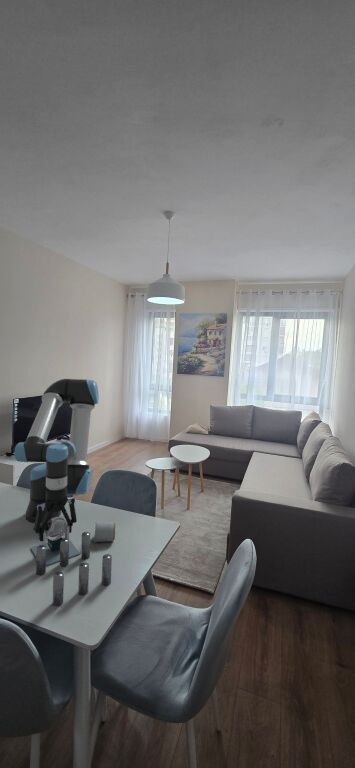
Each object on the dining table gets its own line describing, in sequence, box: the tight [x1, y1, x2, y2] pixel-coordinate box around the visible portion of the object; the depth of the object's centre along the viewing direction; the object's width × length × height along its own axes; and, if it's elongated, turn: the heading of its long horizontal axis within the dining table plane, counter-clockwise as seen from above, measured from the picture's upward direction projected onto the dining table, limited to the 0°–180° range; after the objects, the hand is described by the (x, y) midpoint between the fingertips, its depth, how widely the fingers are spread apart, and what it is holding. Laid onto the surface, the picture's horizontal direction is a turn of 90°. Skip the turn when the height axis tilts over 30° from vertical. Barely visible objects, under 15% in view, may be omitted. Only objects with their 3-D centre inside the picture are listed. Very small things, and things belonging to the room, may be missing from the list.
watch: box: [45, 516, 67, 552], centre depth 127 cm, size 6×8×11 cm
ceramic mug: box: [94, 520, 116, 543], centre depth 138 cm, size 11×8×8 cm
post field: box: [35, 531, 113, 607], centre depth 113 cm, size 20×19×9 cm
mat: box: [30, 536, 81, 567], centre depth 127 cm, size 14×14×1 cm
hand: (55, 544), depth 127 cm, fingers closed on watch, 8 cm apart
